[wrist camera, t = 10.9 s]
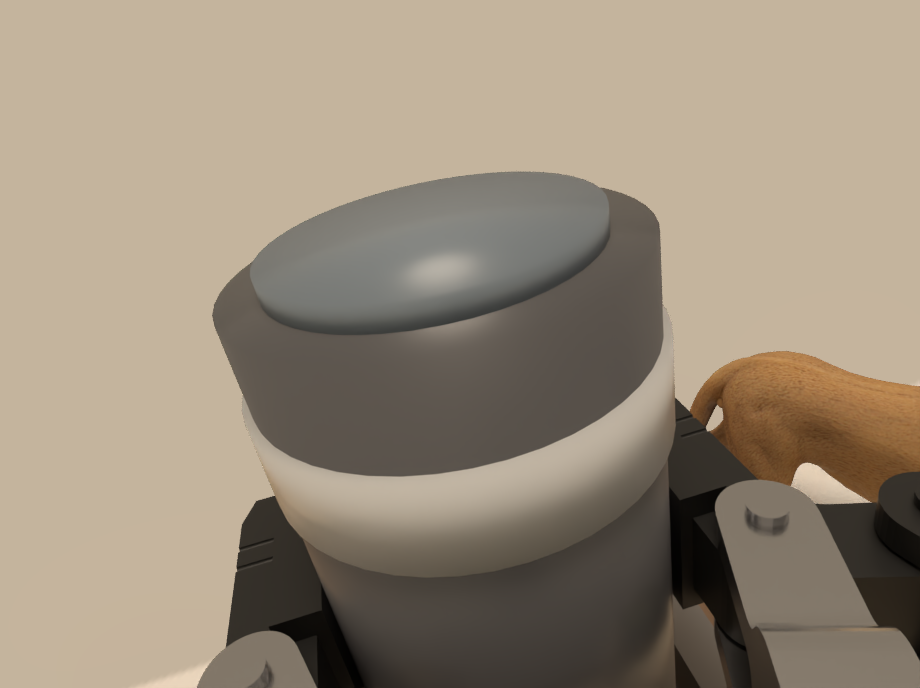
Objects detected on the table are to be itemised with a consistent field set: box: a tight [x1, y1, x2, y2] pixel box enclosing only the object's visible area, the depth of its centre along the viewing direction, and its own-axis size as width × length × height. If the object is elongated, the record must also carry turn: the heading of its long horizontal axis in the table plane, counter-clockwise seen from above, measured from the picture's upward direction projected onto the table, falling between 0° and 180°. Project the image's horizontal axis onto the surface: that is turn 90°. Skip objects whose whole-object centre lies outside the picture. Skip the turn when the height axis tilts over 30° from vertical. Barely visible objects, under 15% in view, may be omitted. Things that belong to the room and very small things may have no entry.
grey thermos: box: [212, 172, 676, 688], centre depth 10 cm, size 5×5×12 cm
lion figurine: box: [690, 351, 920, 503], centre depth 17 cm, size 15×5×9 cm, turn 67°
